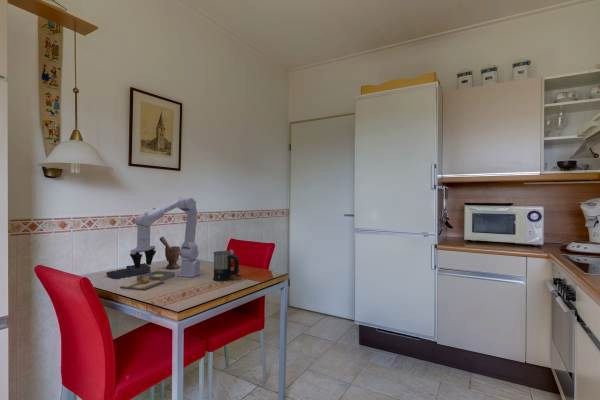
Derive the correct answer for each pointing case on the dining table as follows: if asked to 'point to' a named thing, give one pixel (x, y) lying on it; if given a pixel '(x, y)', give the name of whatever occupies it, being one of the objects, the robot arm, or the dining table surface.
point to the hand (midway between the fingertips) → (143, 266)
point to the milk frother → (224, 265)
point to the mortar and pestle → (171, 254)
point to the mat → (142, 289)
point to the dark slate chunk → (129, 271)
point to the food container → (231, 254)
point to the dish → (160, 275)
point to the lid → (142, 282)
